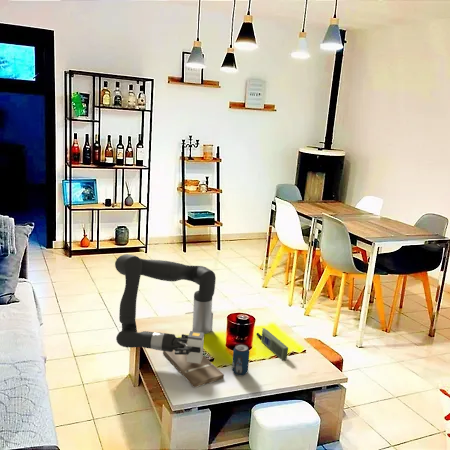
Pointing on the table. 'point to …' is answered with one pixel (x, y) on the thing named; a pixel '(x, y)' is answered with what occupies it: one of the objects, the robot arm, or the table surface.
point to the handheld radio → (274, 344)
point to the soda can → (240, 359)
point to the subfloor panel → (195, 369)
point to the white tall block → (195, 341)
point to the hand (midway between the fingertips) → (201, 346)
